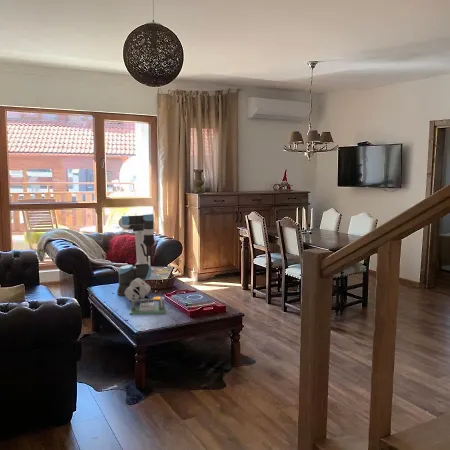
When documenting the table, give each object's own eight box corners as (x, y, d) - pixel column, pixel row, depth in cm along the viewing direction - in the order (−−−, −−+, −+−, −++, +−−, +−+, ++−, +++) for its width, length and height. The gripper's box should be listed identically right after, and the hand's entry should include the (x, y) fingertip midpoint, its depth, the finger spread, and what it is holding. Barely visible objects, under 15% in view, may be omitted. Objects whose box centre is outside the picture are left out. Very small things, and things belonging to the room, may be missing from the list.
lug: (158, 307, 345) (158, 297, 344) (164, 307, 346) (164, 296, 345) (158, 309, 339) (158, 299, 338) (164, 309, 340) (164, 299, 339)
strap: (132, 300, 342) (132, 298, 342) (160, 299, 345) (160, 296, 344) (131, 303, 336) (131, 300, 336) (160, 301, 339) (160, 298, 338)
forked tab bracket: (131, 308, 343) (131, 297, 342) (135, 307, 344) (134, 297, 342) (131, 310, 337) (130, 300, 336) (134, 310, 337) (134, 300, 336)
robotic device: (141, 314, 354) (155, 295, 350) (119, 297, 356) (132, 278, 352) (146, 310, 364) (159, 291, 360) (125, 294, 366) (138, 274, 362)
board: (131, 307, 348) (131, 306, 348) (164, 306, 351) (164, 304, 351) (129, 314, 332) (129, 313, 332) (164, 313, 335) (164, 311, 335)
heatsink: (140, 306, 347) (140, 299, 346) (154, 306, 348) (153, 299, 347) (139, 311, 335) (139, 304, 334) (153, 311, 336) (153, 304, 335)
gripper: (139, 235, 341) (140, 266, 344) (157, 235, 342) (157, 266, 346) (140, 233, 348) (140, 263, 352) (157, 233, 349) (158, 263, 353)
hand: (149, 264), depth 349 cm, fingers closed
